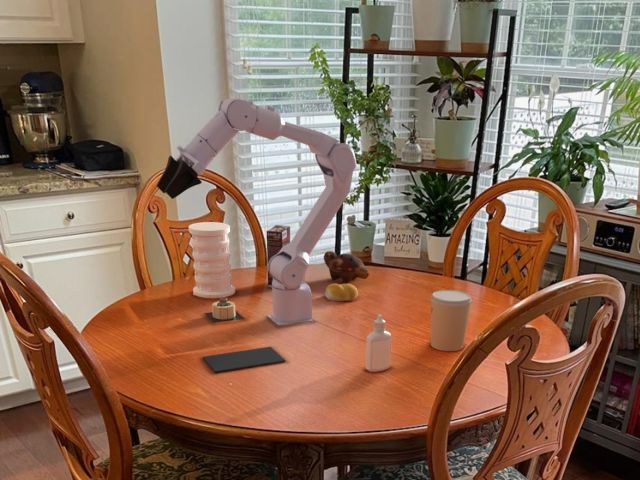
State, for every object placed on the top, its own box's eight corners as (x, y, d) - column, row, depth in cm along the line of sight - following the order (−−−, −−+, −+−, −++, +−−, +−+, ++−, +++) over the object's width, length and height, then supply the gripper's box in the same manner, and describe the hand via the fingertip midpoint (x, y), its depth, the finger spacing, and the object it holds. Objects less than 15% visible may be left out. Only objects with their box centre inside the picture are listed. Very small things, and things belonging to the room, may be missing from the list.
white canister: (444, 335, 174) (448, 286, 168) (474, 346, 169) (480, 296, 163) (419, 344, 169) (422, 294, 163) (449, 355, 163) (454, 304, 157)
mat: (270, 348, 164) (270, 346, 164) (285, 361, 157) (285, 360, 157) (202, 358, 157) (202, 356, 157) (215, 373, 151) (215, 371, 150)
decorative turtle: (328, 273, 219) (331, 246, 215) (373, 283, 215) (377, 256, 211) (314, 279, 212) (317, 251, 208) (361, 289, 207) (364, 262, 203)
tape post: (234, 311, 186) (233, 292, 183) (244, 320, 180) (243, 301, 177) (204, 315, 182) (202, 295, 180) (213, 324, 176) (212, 304, 174)
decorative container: (186, 297, 195) (179, 229, 185) (203, 285, 204) (197, 220, 195) (226, 301, 193) (221, 232, 183) (241, 289, 202) (237, 223, 193)
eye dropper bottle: (391, 372, 154) (394, 318, 148) (366, 372, 153) (368, 318, 147) (389, 364, 158) (391, 311, 151) (363, 364, 157) (365, 311, 151)
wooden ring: (231, 311, 184) (230, 299, 183) (238, 317, 180) (237, 306, 178) (210, 313, 182) (209, 302, 180) (217, 320, 178) (216, 308, 176)
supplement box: (283, 289, 203) (282, 232, 195) (267, 288, 204) (265, 230, 196) (292, 281, 211) (290, 225, 202) (276, 280, 211) (274, 224, 203)
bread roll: (361, 300, 197) (362, 286, 195) (330, 303, 194) (330, 288, 192) (351, 292, 203) (352, 278, 201) (321, 294, 200) (321, 280, 198)
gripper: (184, 127, 155) (142, 173, 156) (203, 133, 144) (158, 183, 145) (207, 152, 160) (166, 197, 161) (227, 160, 149) (183, 209, 149)
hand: (164, 192), depth 153 cm, fingers open, 7 cm apart
